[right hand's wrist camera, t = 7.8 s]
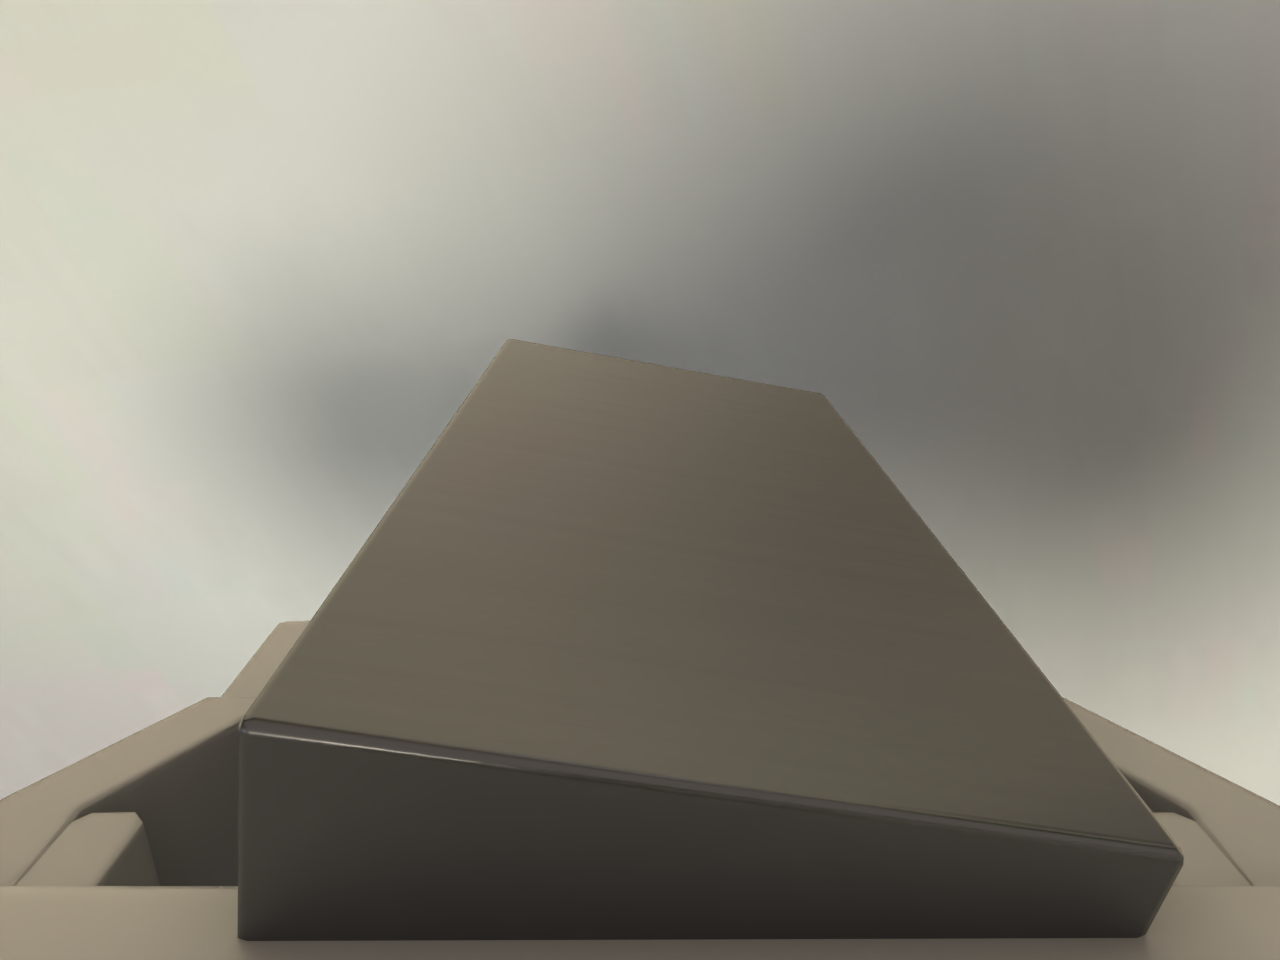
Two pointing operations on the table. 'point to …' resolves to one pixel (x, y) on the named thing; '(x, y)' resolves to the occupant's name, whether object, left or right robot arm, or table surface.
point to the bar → (671, 698)
